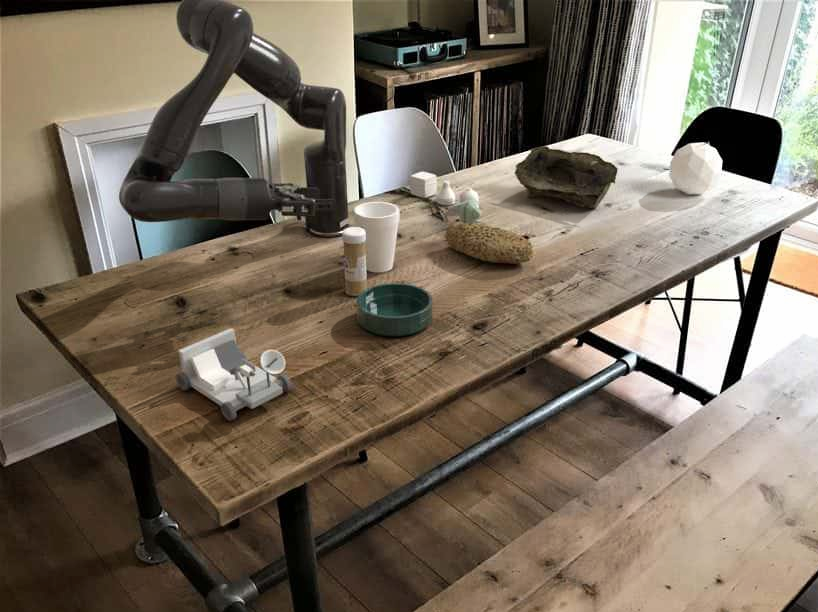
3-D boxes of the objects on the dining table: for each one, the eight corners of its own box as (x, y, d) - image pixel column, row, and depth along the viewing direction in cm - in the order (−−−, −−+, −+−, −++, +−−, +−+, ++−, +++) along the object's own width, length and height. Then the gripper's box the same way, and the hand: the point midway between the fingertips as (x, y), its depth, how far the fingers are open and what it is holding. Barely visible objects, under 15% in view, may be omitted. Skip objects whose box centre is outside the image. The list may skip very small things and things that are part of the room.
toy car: (298, 347, 123) (236, 377, 115) (303, 399, 128) (243, 431, 120) (229, 309, 132) (167, 334, 125) (236, 359, 137) (177, 386, 130)
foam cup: (406, 261, 174) (406, 205, 167) (389, 278, 166) (388, 220, 160) (367, 254, 177) (365, 199, 170) (349, 271, 169) (346, 213, 162)
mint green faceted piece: (450, 225, 193) (451, 199, 189) (459, 220, 196) (460, 194, 192) (477, 233, 189) (478, 206, 185) (486, 228, 192) (488, 201, 188)
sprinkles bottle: (340, 292, 160) (337, 230, 153) (356, 285, 163) (354, 224, 157) (356, 299, 158) (353, 237, 151) (372, 292, 161) (370, 230, 154)
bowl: (345, 330, 147) (343, 309, 145) (376, 298, 159) (376, 278, 156) (415, 345, 143) (415, 323, 141) (442, 310, 155) (443, 290, 153)
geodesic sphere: (685, 156, 226) (680, 123, 215) (734, 166, 219) (731, 132, 208) (663, 198, 223) (657, 166, 211) (712, 209, 216) (708, 177, 204)
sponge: (439, 255, 180) (494, 269, 165) (441, 220, 178) (497, 231, 163) (484, 252, 188) (541, 265, 173) (486, 219, 186) (543, 229, 171)
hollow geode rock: (610, 230, 205) (636, 181, 206) (596, 208, 194) (624, 156, 195) (522, 201, 219) (547, 155, 221) (505, 178, 208) (531, 130, 210)
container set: (410, 195, 210) (410, 175, 207) (422, 190, 213) (422, 170, 211) (470, 213, 200) (471, 192, 197) (482, 207, 203) (483, 187, 201)
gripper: (250, 188, 135) (340, 189, 143) (231, 169, 146) (315, 170, 154) (250, 230, 138) (338, 229, 146) (230, 208, 149) (313, 208, 157)
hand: (326, 199), depth 150 cm, fingers open, 8 cm apart
